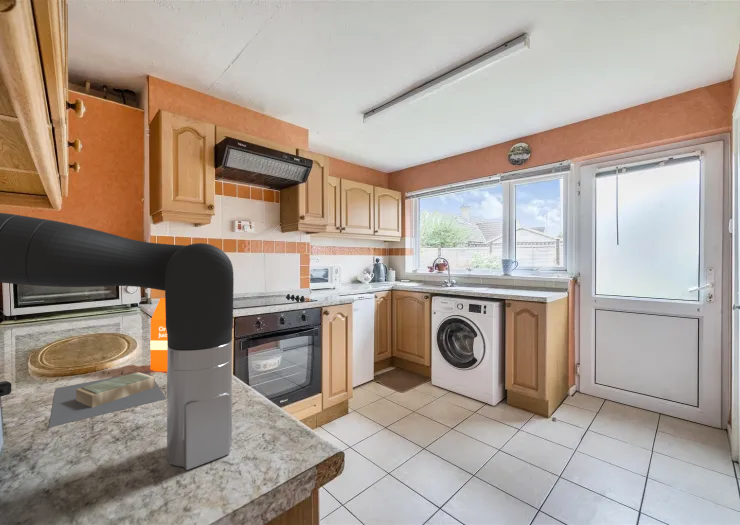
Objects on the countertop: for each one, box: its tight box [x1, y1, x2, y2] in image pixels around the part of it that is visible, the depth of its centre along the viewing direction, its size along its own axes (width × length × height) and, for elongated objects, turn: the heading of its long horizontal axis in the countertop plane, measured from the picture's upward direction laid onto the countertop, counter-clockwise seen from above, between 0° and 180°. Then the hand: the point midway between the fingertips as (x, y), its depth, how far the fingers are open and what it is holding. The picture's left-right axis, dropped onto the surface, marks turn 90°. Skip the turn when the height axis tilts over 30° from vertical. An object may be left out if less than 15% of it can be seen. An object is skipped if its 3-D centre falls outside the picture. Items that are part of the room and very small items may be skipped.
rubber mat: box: [48, 370, 167, 428], centre depth 72 cm, size 24×18×1 cm
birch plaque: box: [76, 371, 156, 407], centre depth 72 cm, size 3×7×12 cm
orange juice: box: [149, 297, 168, 372], centre depth 93 cm, size 8×9×20 cm
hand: (9, 387), depth 57 cm, fingers closed
